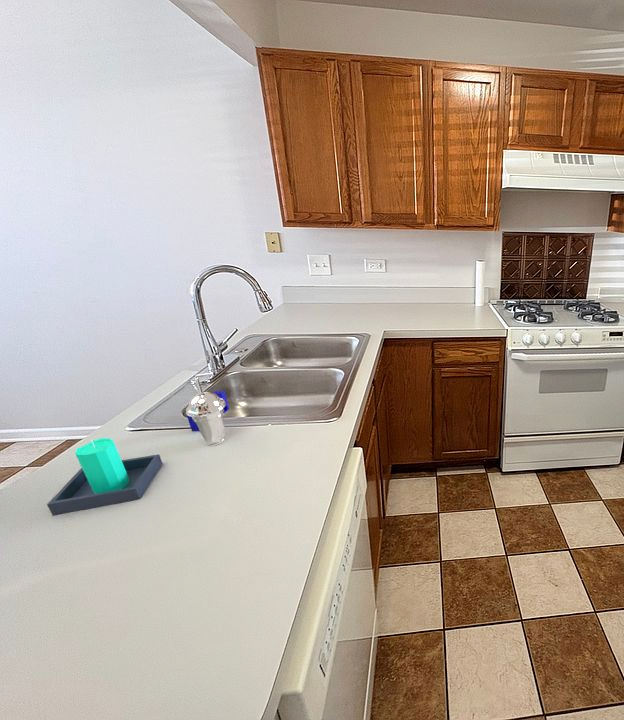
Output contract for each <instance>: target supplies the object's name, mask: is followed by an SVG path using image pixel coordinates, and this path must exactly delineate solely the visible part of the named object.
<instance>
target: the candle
mask: <svg viewBox="0 0 624 720" xmlns="http://www.w3.org/2000/svg"><path fill="white" fill-rule="evenodd" d="M74 454H75V457H76V459H77V461H78V463H79V465H80V468H82V469H83V471H84V473H85V476H86V478H87V480H88V482H89V484H90V486H91V488H92V490H93V492H94V494H97V493H103V492H108V491H114V490H120V489H123V488H124V487H125V486H126V485H128V483H129V481H130V479H129V477H128V475H127V472H126V470H125V468H124V465H123V463H122V460H123V459H122V458H121V456H120V453H119V451H118V449H117V446H116V444H115V442H114V440H113V439H112V438H111V437H110V438H109V437H102V438H98V439H94V440H93V439H91V440H90V442H88V443H87V444H85V445H83V446H82V445H81V446H79V447H77V448H76V450H75V452H74Z"/></svg>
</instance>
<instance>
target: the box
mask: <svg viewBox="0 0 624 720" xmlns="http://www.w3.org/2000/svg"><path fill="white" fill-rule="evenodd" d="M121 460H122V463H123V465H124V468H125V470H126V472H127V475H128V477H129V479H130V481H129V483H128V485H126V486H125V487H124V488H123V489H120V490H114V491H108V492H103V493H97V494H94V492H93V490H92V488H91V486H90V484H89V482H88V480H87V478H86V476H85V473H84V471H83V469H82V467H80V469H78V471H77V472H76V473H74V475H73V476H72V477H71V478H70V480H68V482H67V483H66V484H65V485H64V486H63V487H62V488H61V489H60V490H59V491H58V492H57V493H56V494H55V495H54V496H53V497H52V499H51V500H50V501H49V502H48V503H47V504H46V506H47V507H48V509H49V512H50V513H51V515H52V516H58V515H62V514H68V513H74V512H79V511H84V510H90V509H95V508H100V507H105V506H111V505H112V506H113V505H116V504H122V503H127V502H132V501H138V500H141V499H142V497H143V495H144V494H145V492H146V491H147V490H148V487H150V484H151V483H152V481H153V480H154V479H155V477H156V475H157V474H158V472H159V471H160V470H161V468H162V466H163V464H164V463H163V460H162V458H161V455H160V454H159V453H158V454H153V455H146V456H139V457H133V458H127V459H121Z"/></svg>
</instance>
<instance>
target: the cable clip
mask: <svg viewBox="0 0 624 720" xmlns="http://www.w3.org/2000/svg"><path fill="white" fill-rule="evenodd" d="M212 393H214V394H216V395H217V396H218V397H219V398H221V399H223V400H224V401H225V402H226V406H225V407H224V408H223V409H224V411H223V412H224V414H225V413H227V412H228V411H229V410H230V406H229V403H228V399H227V396H226V392H225V391H224V390H223V391H221V390H220V391H219V390H217V391H216V390H215V391H213V392H212ZM186 417H187V420H188V421H187V422H188V424H189V426H190V429H191V430H190V431H191V432H200V431H199V429H198V427H197V425H196V423H195V422H194V420H193V419H192V417H191V416H188V415H187V414H186Z"/></svg>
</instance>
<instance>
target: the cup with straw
mask: <svg viewBox="0 0 624 720" xmlns="http://www.w3.org/2000/svg"><path fill="white" fill-rule="evenodd" d="M210 376H216V372H214V371H213V372H204V373H197V374H195V376H194V380H195V383H196V387H197V390H198V393H197V394H195V395H194V396H193V397H191V398H190V400H189V403H188V406H187V407H186V409H185V415H186V416H187V415H188V416H191V417H192V419H193V420H194V422H195V423H196V425H197V427H198V429H199V431H198V432H200V435H201V437H202V439H203V440H204V442H205V444H206V446H208V447H213V446H217V445H221V444H223V443H224V442H225V441H226V440H227V436H226V435H227V431H226V424H225V419H224V415H225V413H224V412H223V411H224V409H223V408H224V407H225V406H226V402H225V401H224V400H223V399H221V398H219V397H218V396H217V395H216V394H214V393H213V392H211V391H203V389H202V388H203V387H202V385H201V382H200V379H199V378H202V377H210Z"/></svg>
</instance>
